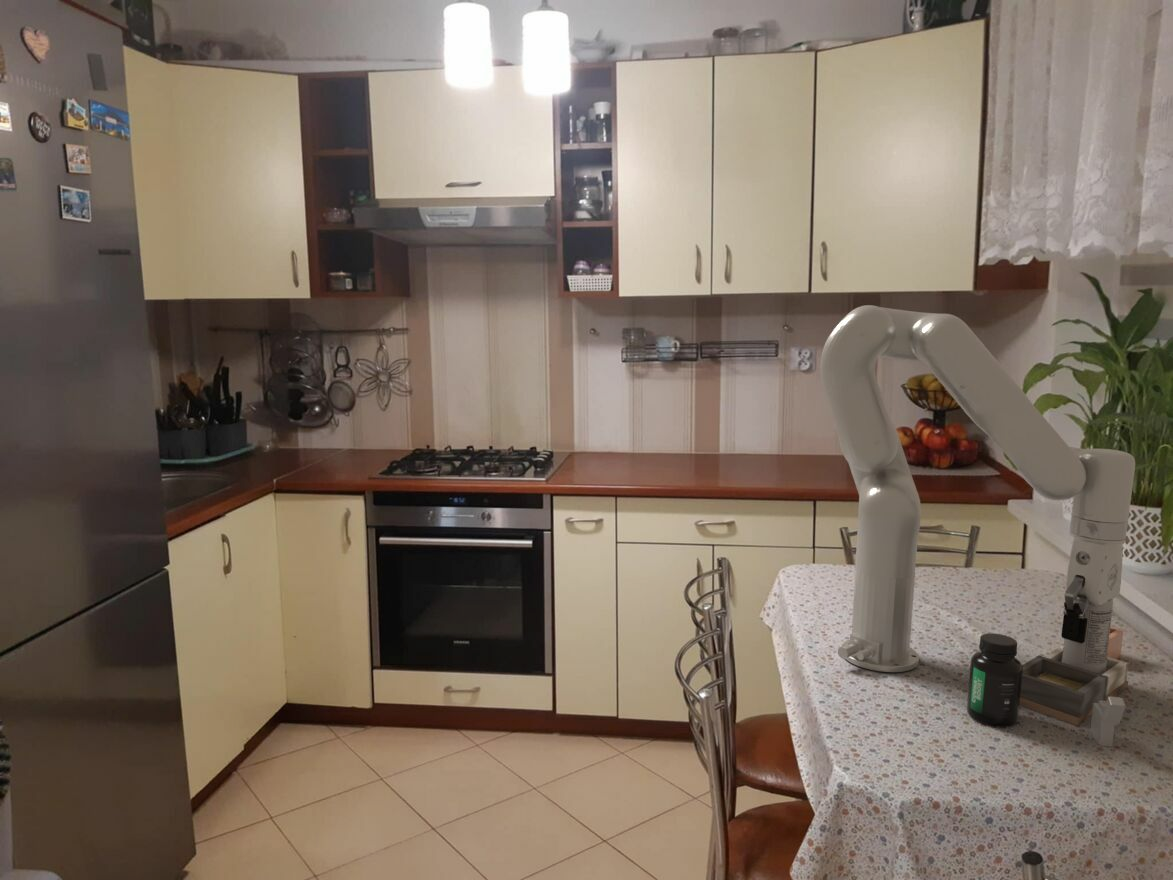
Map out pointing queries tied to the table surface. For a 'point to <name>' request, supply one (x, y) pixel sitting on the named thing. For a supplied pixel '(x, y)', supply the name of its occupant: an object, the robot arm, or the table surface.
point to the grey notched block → (1106, 719)
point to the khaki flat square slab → (1060, 681)
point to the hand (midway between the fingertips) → (1085, 633)
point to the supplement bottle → (995, 681)
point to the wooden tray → (1067, 700)
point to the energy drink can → (1091, 640)
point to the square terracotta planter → (1115, 643)
